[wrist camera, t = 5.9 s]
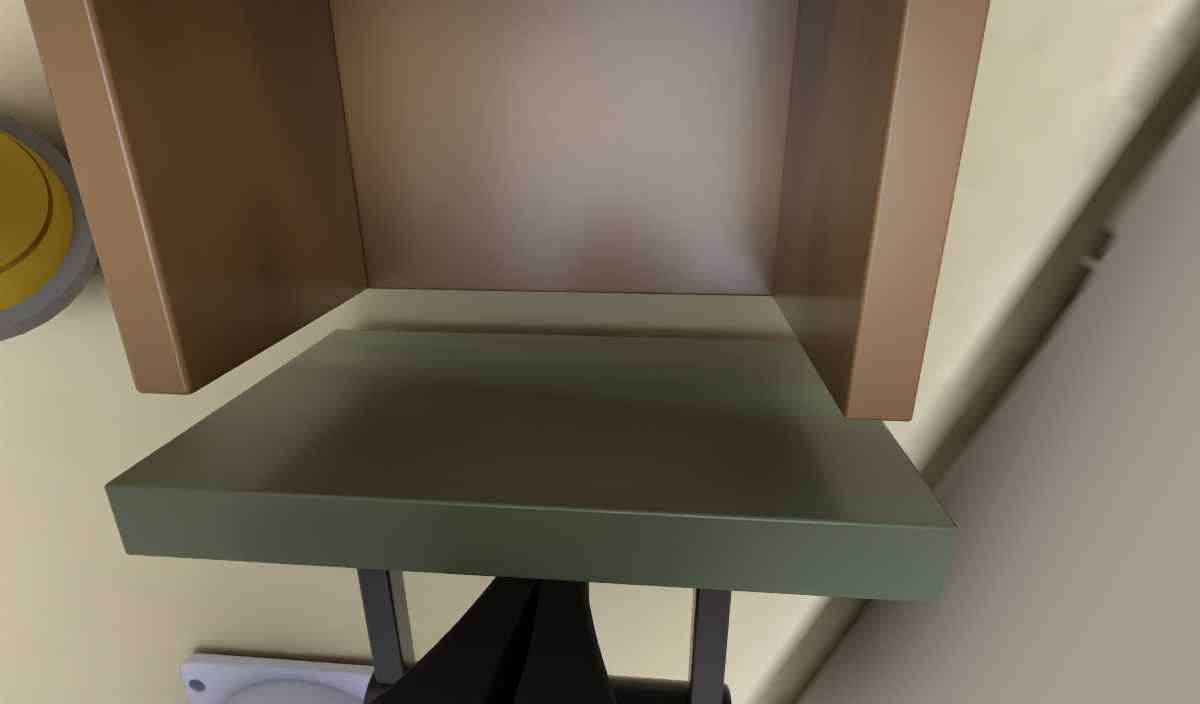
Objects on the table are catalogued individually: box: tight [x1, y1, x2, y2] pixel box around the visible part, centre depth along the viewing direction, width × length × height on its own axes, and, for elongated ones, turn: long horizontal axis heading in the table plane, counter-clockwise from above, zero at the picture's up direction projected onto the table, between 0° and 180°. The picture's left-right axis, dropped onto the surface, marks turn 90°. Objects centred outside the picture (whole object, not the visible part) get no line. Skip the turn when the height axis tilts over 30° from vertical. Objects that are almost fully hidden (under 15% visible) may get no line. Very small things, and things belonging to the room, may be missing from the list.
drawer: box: [24, 0, 990, 704], centre depth 10 cm, size 20×11×7 cm, turn 0°
